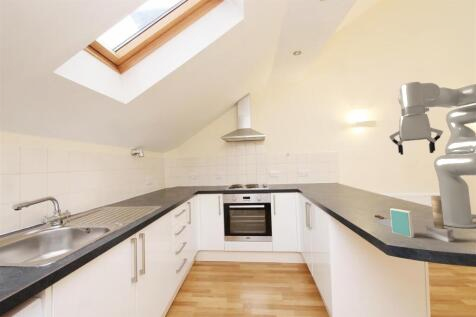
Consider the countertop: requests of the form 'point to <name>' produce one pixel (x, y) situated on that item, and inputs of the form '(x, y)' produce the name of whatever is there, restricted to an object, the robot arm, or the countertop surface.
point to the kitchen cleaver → (383, 221)
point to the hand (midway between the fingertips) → (416, 153)
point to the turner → (439, 222)
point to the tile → (402, 222)
